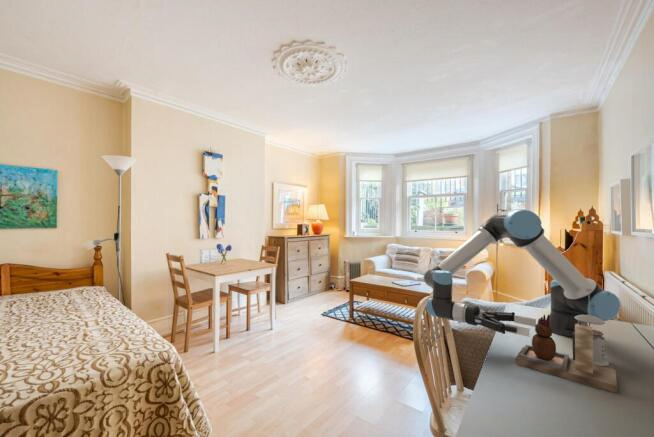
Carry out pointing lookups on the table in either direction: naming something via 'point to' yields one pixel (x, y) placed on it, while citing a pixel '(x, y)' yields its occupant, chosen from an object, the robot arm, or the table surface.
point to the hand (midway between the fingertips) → (532, 327)
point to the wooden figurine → (543, 340)
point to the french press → (595, 336)
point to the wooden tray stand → (573, 362)
